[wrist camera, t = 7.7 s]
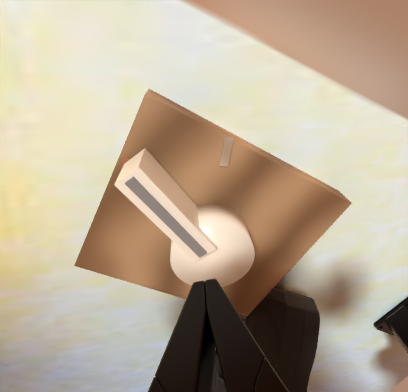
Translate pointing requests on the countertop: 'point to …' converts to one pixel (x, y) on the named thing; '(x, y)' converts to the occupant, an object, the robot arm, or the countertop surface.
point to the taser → (284, 337)
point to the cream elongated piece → (188, 224)
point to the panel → (206, 195)
